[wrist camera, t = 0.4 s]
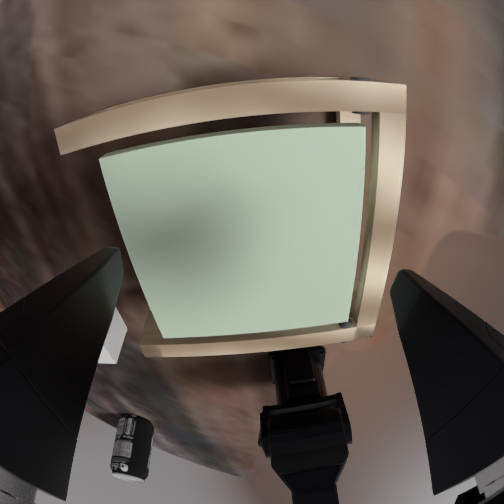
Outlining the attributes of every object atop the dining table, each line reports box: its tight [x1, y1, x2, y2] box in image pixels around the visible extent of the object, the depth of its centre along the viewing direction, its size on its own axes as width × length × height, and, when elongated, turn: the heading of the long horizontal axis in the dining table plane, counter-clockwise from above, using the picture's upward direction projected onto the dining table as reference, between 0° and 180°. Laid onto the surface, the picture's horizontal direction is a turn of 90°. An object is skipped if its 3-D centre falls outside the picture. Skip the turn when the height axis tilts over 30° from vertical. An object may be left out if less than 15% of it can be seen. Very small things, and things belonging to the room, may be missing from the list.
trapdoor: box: [99, 123, 366, 338], centre depth 17 cm, size 13×13×1 cm
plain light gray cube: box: [98, 307, 127, 364], centre depth 27 cm, size 5×5×5 cm
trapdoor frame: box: [54, 77, 406, 357], centre depth 20 cm, size 18×18×8 cm
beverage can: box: [111, 415, 154, 483], centre depth 40 cm, size 7×7×12 cm
